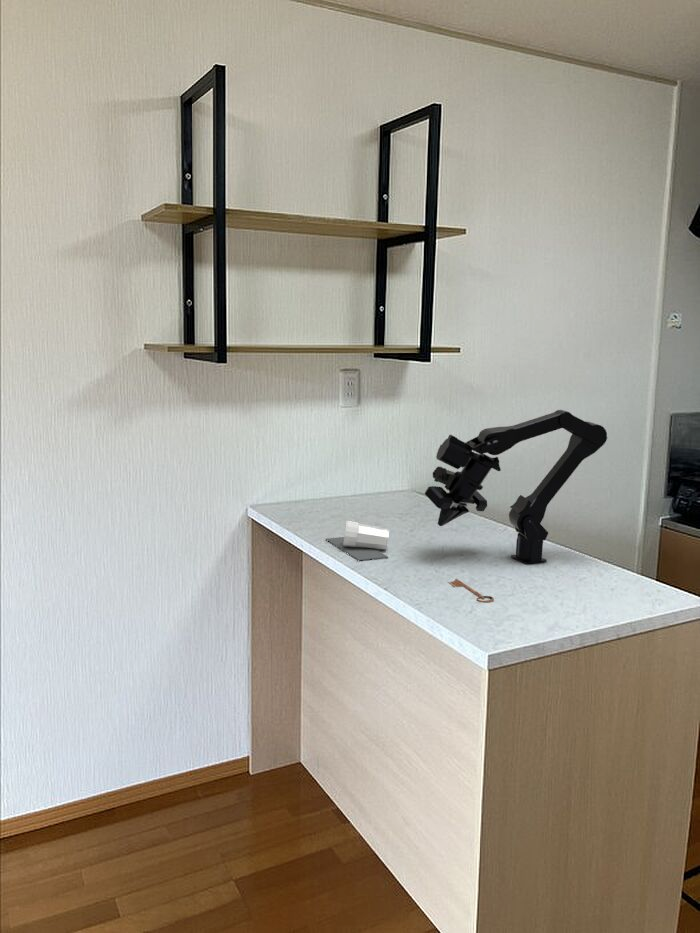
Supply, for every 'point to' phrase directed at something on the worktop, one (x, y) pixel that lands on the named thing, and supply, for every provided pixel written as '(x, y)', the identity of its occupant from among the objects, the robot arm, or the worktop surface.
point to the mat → (357, 550)
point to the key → (471, 591)
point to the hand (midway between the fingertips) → (439, 524)
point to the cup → (365, 536)
